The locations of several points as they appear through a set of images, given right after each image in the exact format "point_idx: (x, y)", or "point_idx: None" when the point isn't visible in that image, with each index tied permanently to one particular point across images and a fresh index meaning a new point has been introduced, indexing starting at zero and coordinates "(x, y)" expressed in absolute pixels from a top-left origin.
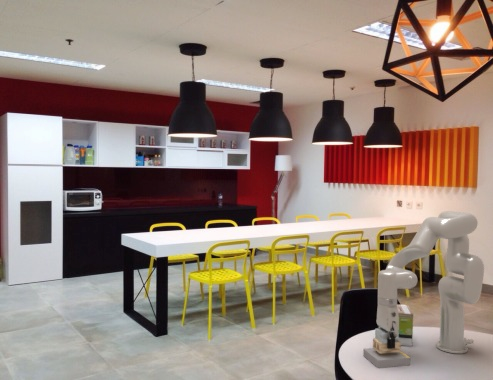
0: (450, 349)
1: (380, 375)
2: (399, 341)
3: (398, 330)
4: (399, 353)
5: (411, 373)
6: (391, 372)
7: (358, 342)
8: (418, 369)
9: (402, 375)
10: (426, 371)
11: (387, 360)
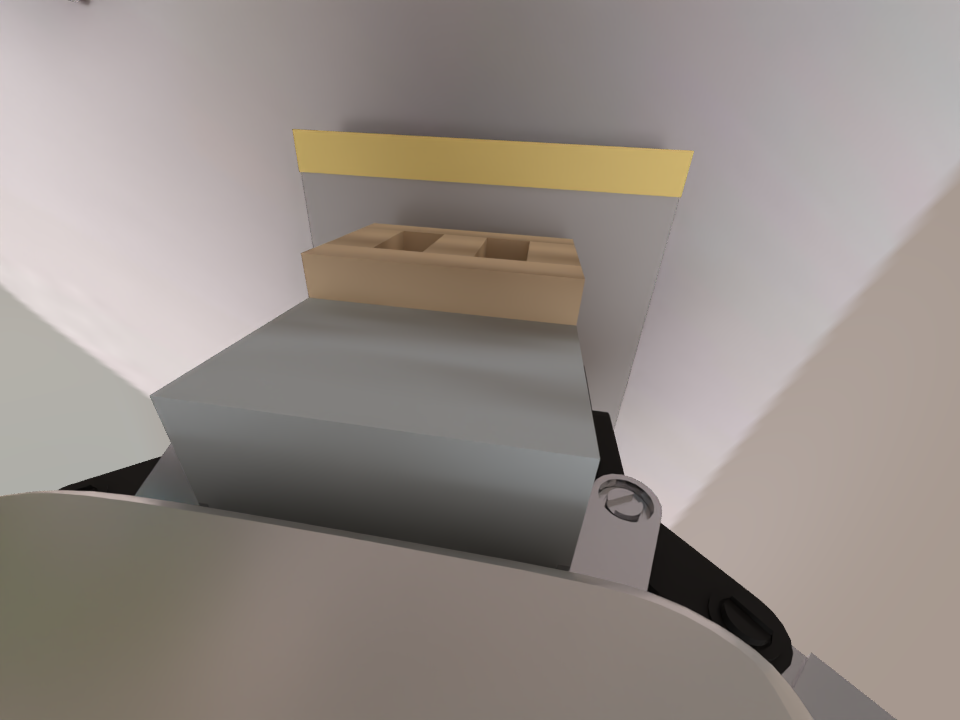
0: None
1: (693, 499)
2: (554, 286)
3: (786, 687)
4: (522, 210)
5: (821, 273)
6: (697, 415)
7: (109, 313)
8: (805, 123)
9: (793, 374)
10: (917, 48)
11: (612, 423)
